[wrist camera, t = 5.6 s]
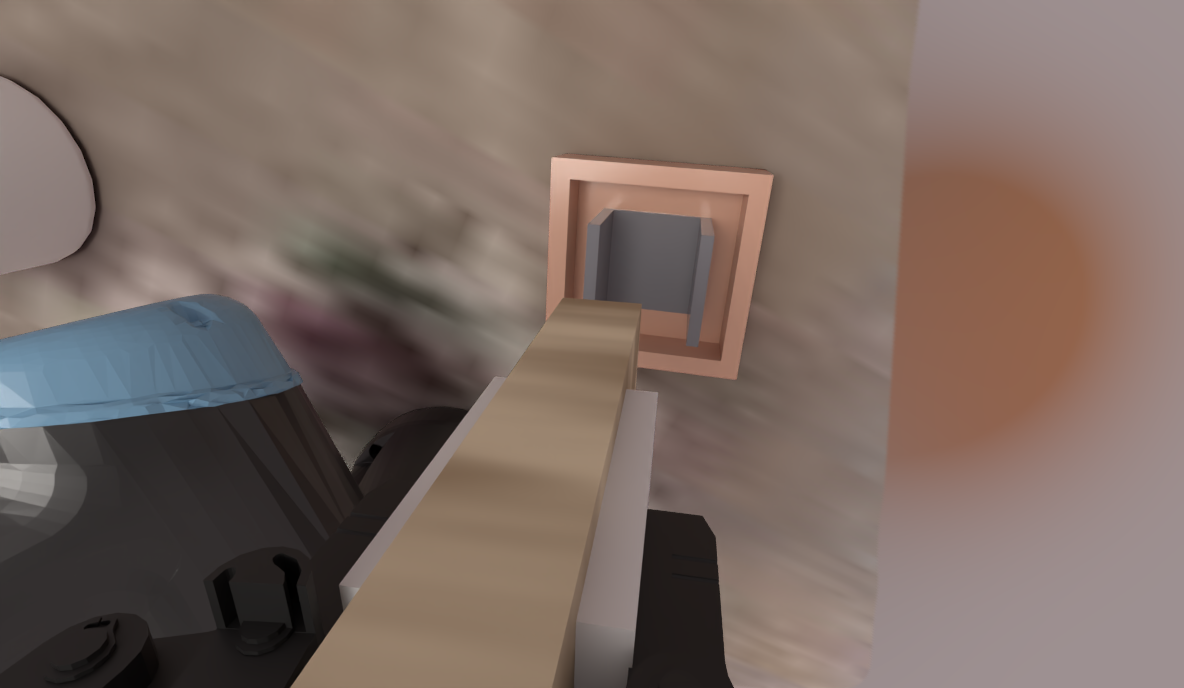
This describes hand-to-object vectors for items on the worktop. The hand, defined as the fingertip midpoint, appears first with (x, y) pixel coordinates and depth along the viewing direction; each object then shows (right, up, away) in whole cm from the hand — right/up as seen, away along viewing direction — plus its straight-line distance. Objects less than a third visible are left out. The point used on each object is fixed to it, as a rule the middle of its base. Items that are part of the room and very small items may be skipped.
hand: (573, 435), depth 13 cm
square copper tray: (+4, +7, +20) cm, 21 cm away
